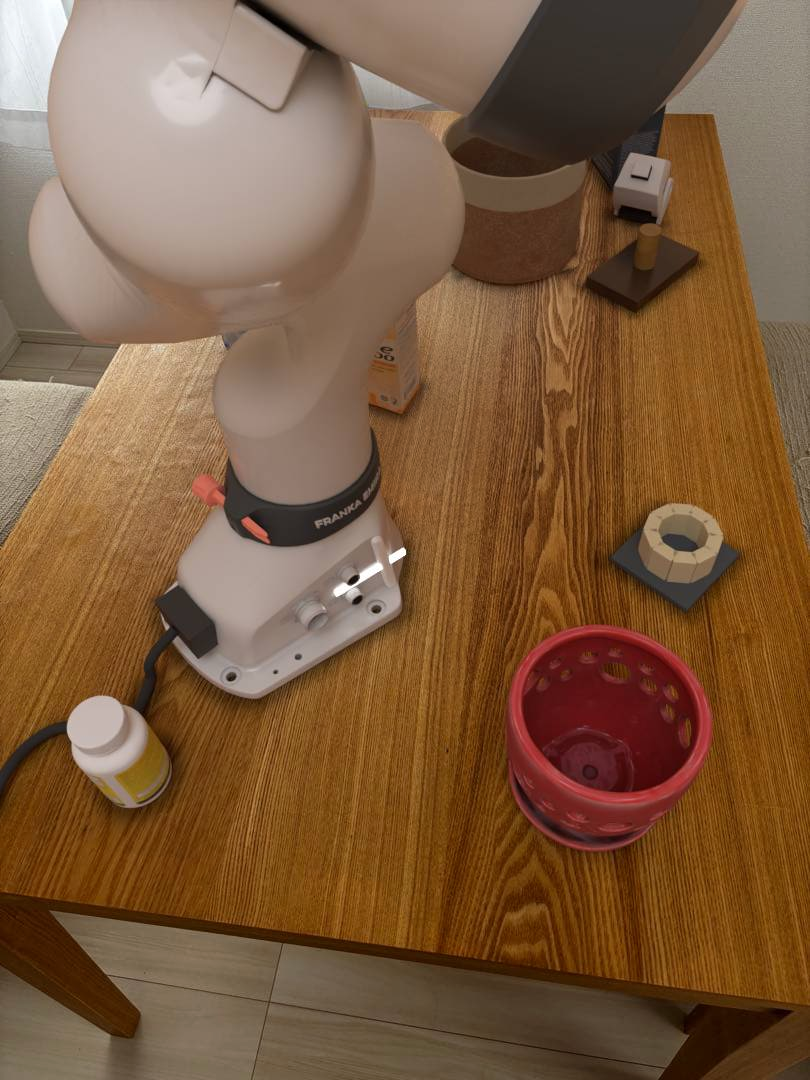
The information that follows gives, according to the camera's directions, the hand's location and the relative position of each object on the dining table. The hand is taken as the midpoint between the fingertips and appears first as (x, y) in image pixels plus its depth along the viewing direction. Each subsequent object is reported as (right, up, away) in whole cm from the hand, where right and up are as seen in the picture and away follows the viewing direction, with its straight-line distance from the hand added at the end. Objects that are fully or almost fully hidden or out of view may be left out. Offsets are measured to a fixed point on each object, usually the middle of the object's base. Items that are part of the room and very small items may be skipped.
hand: (507, 42), depth 70 cm
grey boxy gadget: (+21, 0, +37) cm, 43 cm away
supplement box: (-11, -25, +22) cm, 35 cm away
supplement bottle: (-29, -59, -2) cm, 66 cm away
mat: (+16, -42, +7) cm, 45 cm away
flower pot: (+6, -58, -4) cm, 59 cm away
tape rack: (+19, -9, +31) cm, 37 cm away
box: (+20, +8, +44) cm, 49 cm away
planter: (+4, -5, +35) cm, 36 cm away
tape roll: (+16, -41, +6) cm, 45 cm away
